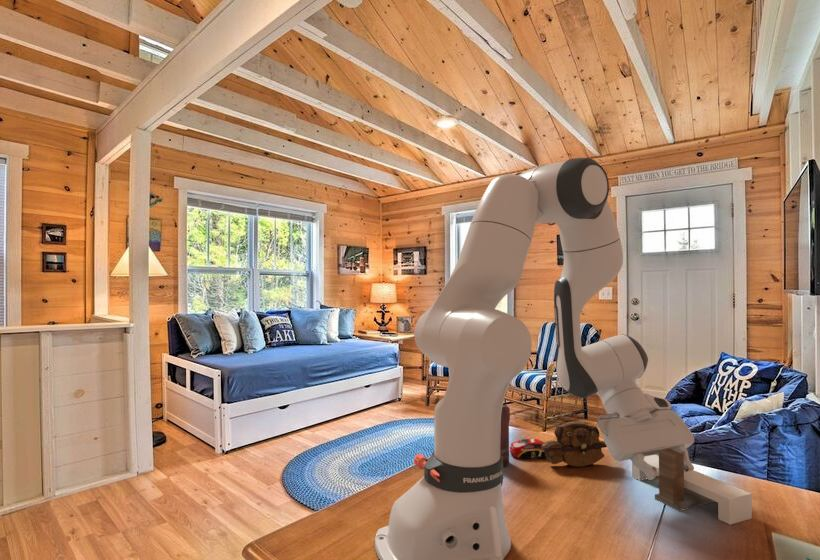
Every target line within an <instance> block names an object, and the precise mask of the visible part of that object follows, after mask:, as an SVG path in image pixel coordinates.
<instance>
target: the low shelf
mask: <svg viewBox="0 0 820 560" xmlns="http://www.w3.org/2000/svg"><path fill="white" fill-rule="evenodd" d="M644 458H645V459H643V460H644V461H645V462H646V463H648V464H649V465H650V466H651V467H655V468H656V470H657V472H658V473H659V455H658V454H656V455H650V456H645V457H644ZM631 474H632V475H631V478H633V477H634V478H633V479H635V478H636V479H635V480H637V479H638V480H637V481H639V480H641V481H643V480H642V479H646V478H647V477H646V475H645V473H644V472H643V471H641V470H640V469H639V468H638V467H636V466H635V465H634V464H633V462H632V461H631ZM646 480H647V479H646ZM684 487H685V488H687V489H689V490H691V491H694V492H696V493H698V494H700V495H702V496H705V497H707V498H709V499H711V500H714V501H715V502H716V503H717V507H718V510H717V511H718V517H717V518H718V520H719V521H721V522H722V523H723V522H724V523H726V524H728V525H735V524H738V523H741V522H744V521H748V520H752V519H753V514H752V513H753V509H752V508H753V505H752V502H753V501H752V499H753V498H752V493H751V492H748V491H747V490H743V489H741V488H739V487H736V486H734V485H731V484H729V483H726V482H724V481H721V480H719V479H717V478H714V477H712V476H709V475H707V474H704V473H701V472H699V471H697V470H695V469H694V470H692V471H691V472H686V473H684Z"/></svg>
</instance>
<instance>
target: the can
mask: <svg viewBox="0 0 820 560" xmlns="http://www.w3.org/2000/svg"><path fill="white" fill-rule="evenodd" d="M510 419H511V411H510V407H509V406H508V404H507V403H503V406H502V412H501V435H500V454H501V455H502V457H503V468H505V467H507V466H508V465H509V463H510Z"/></svg>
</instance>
